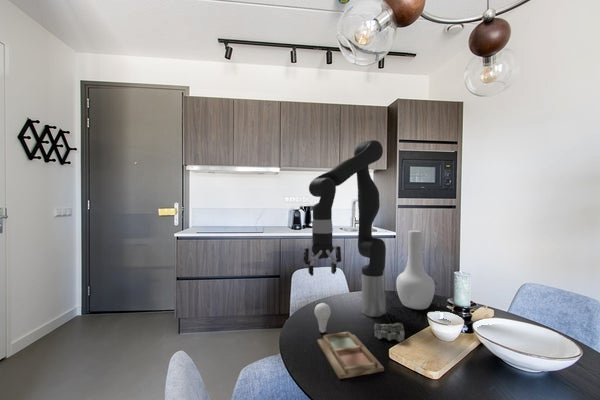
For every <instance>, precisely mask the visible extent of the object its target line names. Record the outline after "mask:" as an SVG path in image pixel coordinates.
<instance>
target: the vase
mask: <svg viewBox="0 0 600 400" xmlns="http://www.w3.org/2000/svg"><path fill="white" fill-rule="evenodd" d="M407 233H408V234H407V237H408V240H407V241H408V242H407V243H408V250H407V251H408V252H407V261H406V262H407V263H406V267H405V269H404V270H403V271H402V272H401V273H400V274H398V276H397V278H396V291H397V292H396V293H397V295H398V298H399V300H400V302H401V304H402V305H403V306H405V307H407V308H409V309H413V310H425V309H426V310H427V309H428V308H429V307H430V306H431V304H432V301H433V299H434V297H435V296H434V295H435V291H436V290H435V288H436V285H435V282H434V280H433V278H432V277H431V276H430V275H428V274H427V272H426V270H425V268H424V261H423V231H422V230H414V229H412V230H411V229H409V230H408V232H407Z"/></svg>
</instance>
